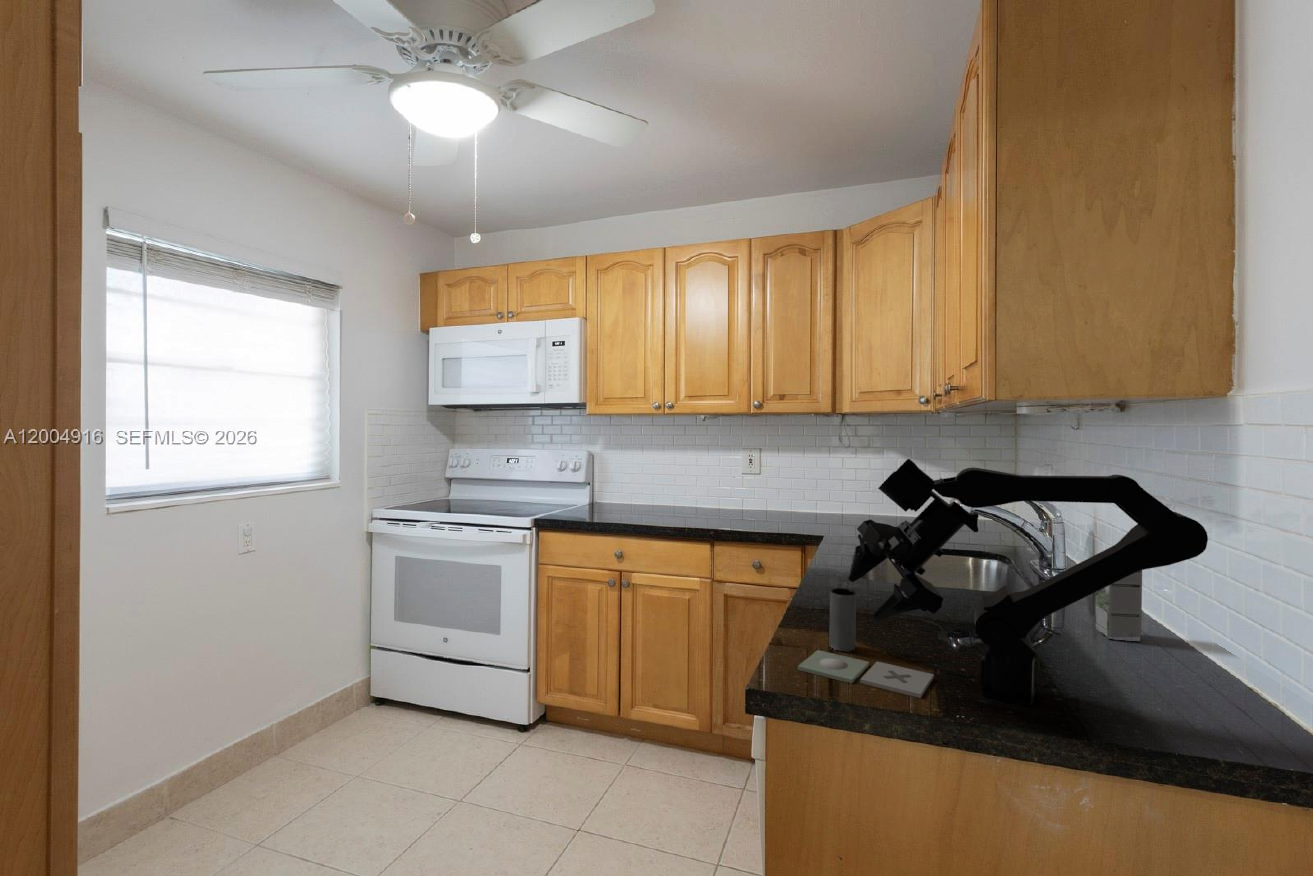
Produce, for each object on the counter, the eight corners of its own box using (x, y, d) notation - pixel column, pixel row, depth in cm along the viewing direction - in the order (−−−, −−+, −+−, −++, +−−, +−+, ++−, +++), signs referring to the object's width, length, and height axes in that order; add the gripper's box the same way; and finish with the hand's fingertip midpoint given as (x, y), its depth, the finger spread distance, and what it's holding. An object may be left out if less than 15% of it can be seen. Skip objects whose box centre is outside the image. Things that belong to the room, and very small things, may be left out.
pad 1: (869, 665, 106) (869, 661, 106) (851, 683, 99) (851, 679, 99) (817, 653, 111) (817, 649, 111) (797, 669, 104) (797, 665, 104)
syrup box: (1142, 642, 118) (1145, 566, 118) (1107, 640, 120) (1109, 564, 119) (1126, 632, 124) (1128, 559, 124) (1092, 630, 125) (1095, 558, 125)
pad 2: (933, 678, 101) (933, 673, 101) (920, 698, 94) (920, 693, 94) (876, 665, 106) (876, 660, 106) (860, 683, 99) (860, 678, 99)
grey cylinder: (845, 642, 117) (846, 587, 117) (860, 650, 113) (861, 593, 113) (824, 644, 116) (825, 589, 116) (838, 653, 112) (839, 595, 111)
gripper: (868, 479, 105) (807, 545, 109) (928, 547, 88) (853, 622, 93) (911, 507, 109) (850, 569, 114) (976, 577, 93) (902, 647, 97)
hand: (862, 598), depth 104 cm, fingers open, 9 cm apart
